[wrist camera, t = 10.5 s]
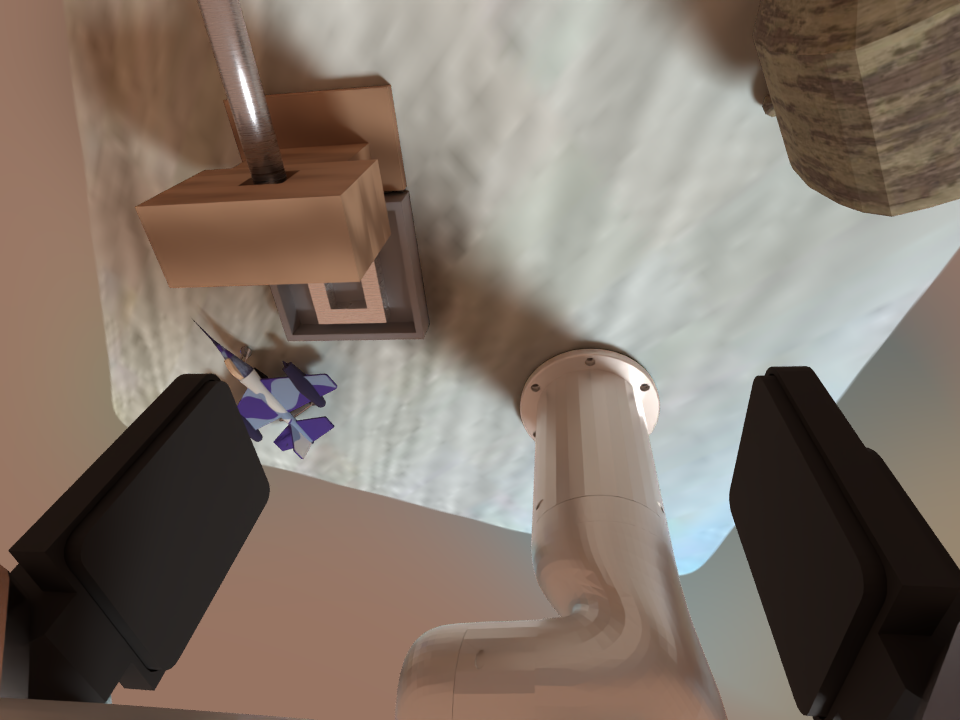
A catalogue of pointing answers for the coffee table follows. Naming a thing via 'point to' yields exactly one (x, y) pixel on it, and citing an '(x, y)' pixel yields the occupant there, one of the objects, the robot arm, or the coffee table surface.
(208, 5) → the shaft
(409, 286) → the tray
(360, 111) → the bearing block
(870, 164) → the old lantern
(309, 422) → the toy airplane
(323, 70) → the coffee table surface
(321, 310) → the square wooden ring
